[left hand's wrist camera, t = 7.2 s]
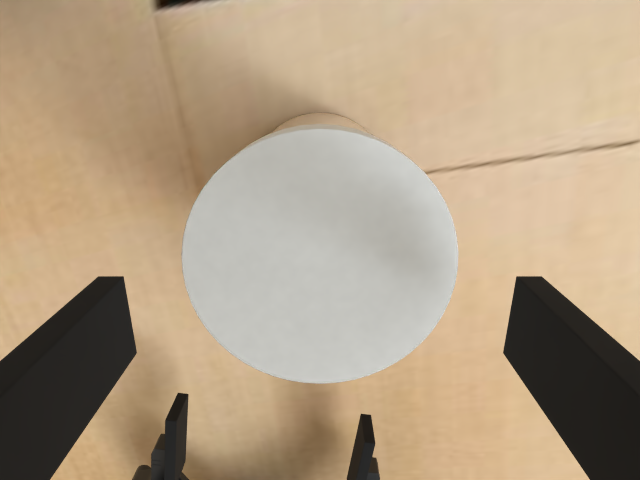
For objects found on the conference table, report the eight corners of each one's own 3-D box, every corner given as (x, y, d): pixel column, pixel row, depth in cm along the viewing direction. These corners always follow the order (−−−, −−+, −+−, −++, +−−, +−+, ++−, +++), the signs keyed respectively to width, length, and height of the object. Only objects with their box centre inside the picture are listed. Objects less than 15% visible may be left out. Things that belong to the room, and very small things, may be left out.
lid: (495, 206, 18) (516, 220, 16) (361, 390, 21) (365, 420, 19) (265, 70, 16) (258, 67, 14) (157, 293, 19) (139, 316, 17)
